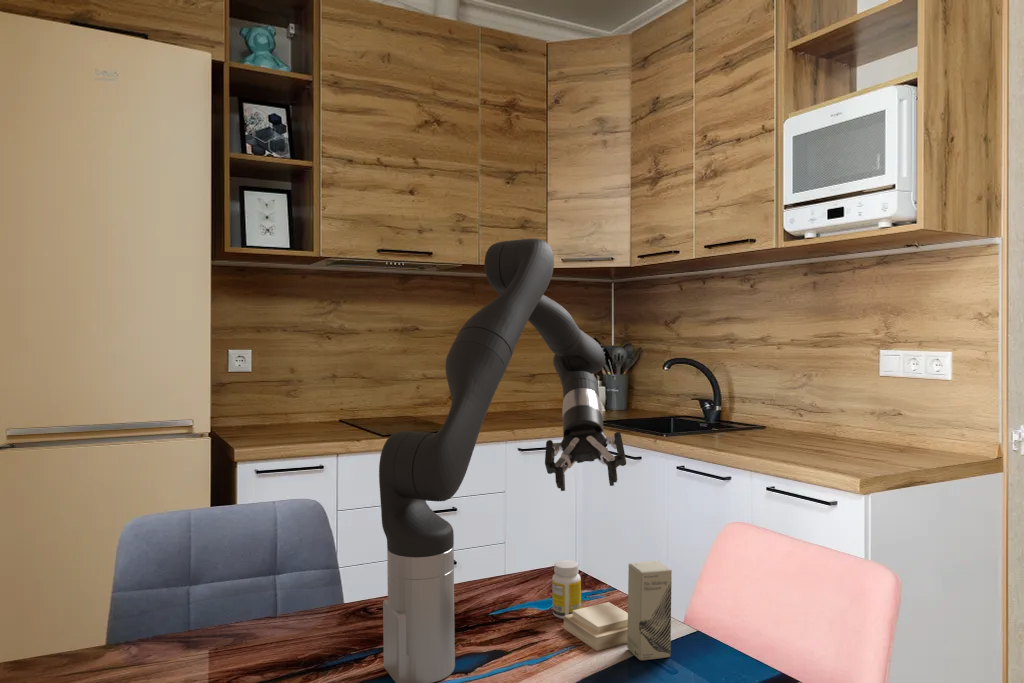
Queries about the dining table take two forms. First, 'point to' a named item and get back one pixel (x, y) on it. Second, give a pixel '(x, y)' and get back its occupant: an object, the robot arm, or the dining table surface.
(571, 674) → the dining table surface
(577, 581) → the supplement bottle
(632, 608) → the box
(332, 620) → the dining table surface
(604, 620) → the cream stand
